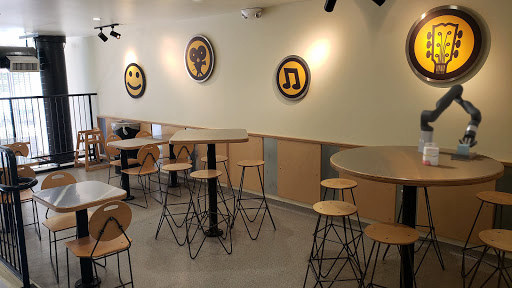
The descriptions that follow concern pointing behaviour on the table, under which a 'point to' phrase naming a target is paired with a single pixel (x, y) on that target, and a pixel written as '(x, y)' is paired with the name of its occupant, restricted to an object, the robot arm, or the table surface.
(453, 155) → the walnut chute
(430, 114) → the robot arm
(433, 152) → the ink cartridge box
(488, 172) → the table surface
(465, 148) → the slate block
